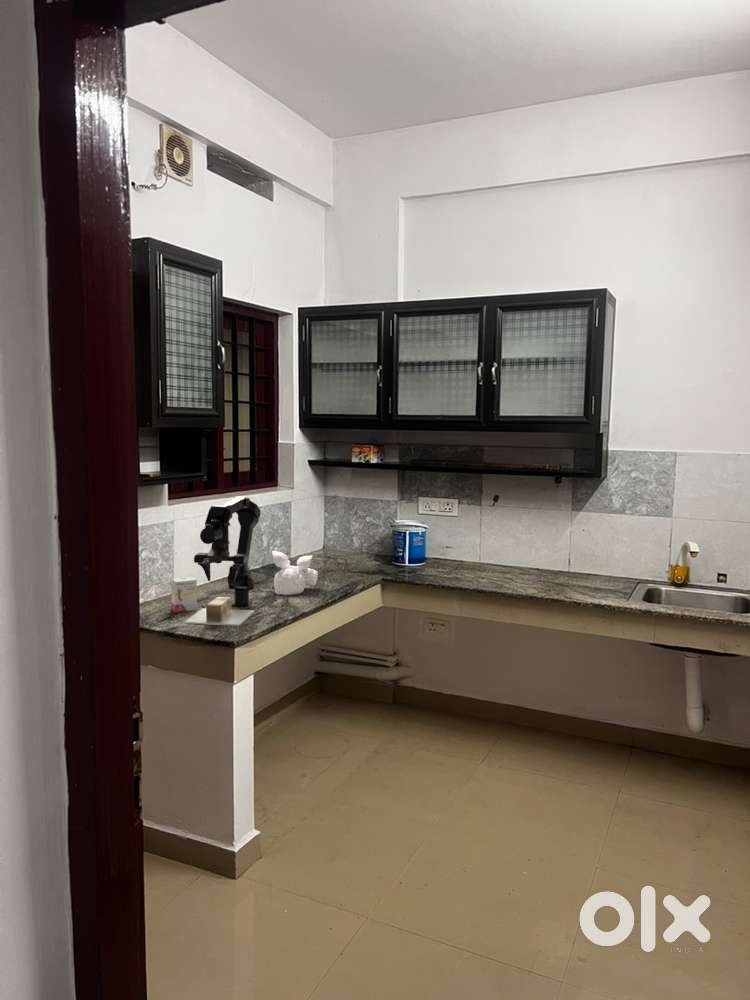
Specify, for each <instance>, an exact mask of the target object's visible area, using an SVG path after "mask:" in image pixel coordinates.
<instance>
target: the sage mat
mask: <svg viewBox="0 0 750 1000" xmlns="http://www.w3.org/2000/svg"><path fill="white" fill-rule="evenodd" d="M254 613H255V610H251V609H232V608H231V614H229V615H228V616H227V617H226V618H225V619H223V620H222V621H221V622H206V607H203V608H202V609H200V610H199V611H197V612H196V613H194V614H193V615H192V616H190V617H189V618H188V619H187V620H185V621H184V624H189V625H207V626H210V625H211V626H230V627H233V626H235V627H240V626H241V625H242V624H243V623H244V622H245V621H247V620H248V619H249V618H250V617H251V616H252V615H253V614H254Z"/></svg>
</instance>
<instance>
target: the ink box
mask: <svg viewBox="0 0 750 1000" xmlns="http://www.w3.org/2000/svg"><path fill="white" fill-rule="evenodd" d="M197 585H198V584H197V579H196V578H195V577H193V576H192V577H191V576H190V577H181V578H180V577H179V578H177V577H176V578H172V579H171V610H172V611H173V612H174V613H180V612H189V611H197V610H198V591H197V590H198V588H197Z"/></svg>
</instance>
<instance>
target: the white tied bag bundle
mask: <svg viewBox="0 0 750 1000" xmlns="http://www.w3.org/2000/svg"><path fill="white" fill-rule="evenodd" d="M271 553H272V554H271V555H272V560H273V562H274V565H275V566H276V567H277V568H280V570H279V571H277V572H276V573H275V574H274V581H273V583H274V584H273V585H274V591H275V593H276V595H283V596H290V595H291V596H292V595H298V594H301V593H303V592H304V590H305V587H307V586H306V583H307V584H308V585H309V586H315V585H316V584H317V582H318V574H319V571H317V570H316V569H314V568H310V566H311V562H312V559H313V557H314V555H304V556H300V557H299V558H298V559H297V560H296V565H291V561H290V560H289V557H288V555H287V554H285V553H284V552H282V551H277V550H272V551H271Z"/></svg>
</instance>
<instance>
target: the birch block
mask: <svg viewBox="0 0 750 1000" xmlns="http://www.w3.org/2000/svg"><path fill="white" fill-rule="evenodd" d="M231 604H232V597H230V596H217V597H216V598H214V599H212V600H210V602H208V603H207V604H205V608H206V622H221V621H222V620H223V619H225V618H226V617H227V616H228V615H229V614H231V609H232V605H231Z"/></svg>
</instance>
